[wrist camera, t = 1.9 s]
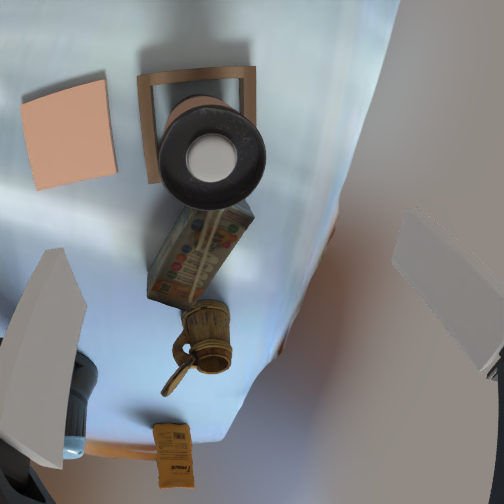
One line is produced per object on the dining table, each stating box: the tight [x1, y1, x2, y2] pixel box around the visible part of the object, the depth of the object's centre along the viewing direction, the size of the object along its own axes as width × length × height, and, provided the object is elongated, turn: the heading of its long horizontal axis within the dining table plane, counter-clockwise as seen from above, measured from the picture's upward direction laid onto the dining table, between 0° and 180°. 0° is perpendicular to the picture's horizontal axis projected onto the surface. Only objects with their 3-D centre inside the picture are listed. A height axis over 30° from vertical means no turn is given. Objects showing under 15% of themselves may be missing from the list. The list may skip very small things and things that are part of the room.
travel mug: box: [158, 95, 266, 211], centre depth 27 cm, size 8×8×20 cm
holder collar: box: [137, 66, 256, 184], centre depth 34 cm, size 14×14×3 cm
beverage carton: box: [147, 200, 255, 312], centre depth 42 cm, size 8×19×7 cm, turn 145°
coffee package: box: [153, 423, 194, 489], centre depth 71 cm, size 10×12×22 cm
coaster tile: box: [20, 79, 118, 191], centre depth 31 cm, size 13×13×1 cm
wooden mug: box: [160, 300, 232, 397], centre depth 46 cm, size 9×14×18 cm, turn 66°
